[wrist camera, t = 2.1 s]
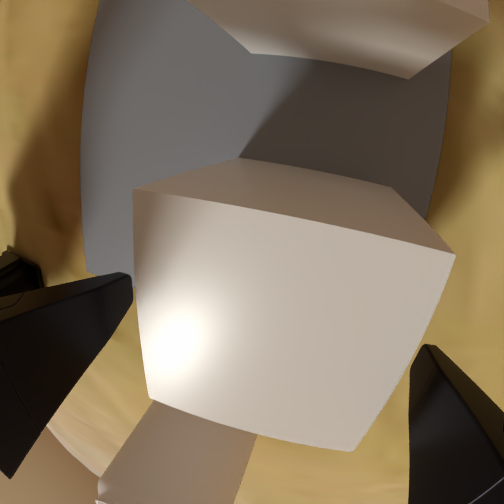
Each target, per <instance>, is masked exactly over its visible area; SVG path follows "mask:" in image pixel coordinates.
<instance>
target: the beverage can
mask: <svg viewBox="0 0 504 504" xmlns="http://www.w3.org/2000/svg"><path fill="white" fill-rule="evenodd" d="M257 435H258V434H255V433H251V432H248V431H244V430H240V429H237V428H233V427H230V426H227V425H223V424H220V423H217V422H214V421H211V420H208V419H205V418H202V417H199V416H196V415H193V414H190V413H187V412H185V411H182V410H179V409H176V408H174V407H171V406H169V405H166V404H163V403H161V402H159V401H156V400H154V401H153V402H152V404H151V405H150V407H149V408H148V410H147V411H146V413H145V414H144V415H143V417H142V418H141V420H140V421H139V423H138V424H137V426H136V427H135V429H134V430H133V432H132V433H131V434H130V436H129V437H128V439H127V440H126V442H125V443H124V445H123V446H122V448H121V449H120V450H119V452H118V453H117V455H116V456H115V458H114V459H113V461H112V462H111V464H110V465H109V467H108V468H107V469H106V471H105V472H104V474H103V475H102V477H101V478H100V480H99V482H98V493H99V498H97V499H96V500H95V502H96V504H233V503H234V500H235V498H236V495H237V492H238V489H239V487H240V484H241V481H242V478H243V475H244V473H245V470H246V467H247V464H248V461H249V458H250V455H251V452H252V450H253V447H254V444H255V441H256V438H257Z"/></svg>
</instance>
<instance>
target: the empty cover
mask: <svg viewBox="0 0 504 504" xmlns="http://www.w3.org/2000/svg"><path fill="white" fill-rule="evenodd" d="M133 250H134V271H135V287H136V300H137V311H138V322H139V331H140V340H141V348H142V355H143V363H144V369H145V376H146V382H147V388H148V394H149V398H151V399H154V400H156V401H159V402H161V403H163V404H166V405H169V406H171V407H174V408H176V409H179V410H182V411H185V412H187V413H190V414H193V415H196V416H199V417H202V418H205V419H208V420H211V421H214V422H217V423H220V424H223V425H227V426H230V427H233V428H237V429H240V430H244V431H248V432H251V433H255V434H259V435H263V436H267V437H271V438H275V439H280V440H284V441H289V442H294V443H299V444H304V445H309V446H315V447H321V448H327V449H333V450H340V451H348V452H353V450H354V449H355V448H356V446H357V445H358V444H359V442H360V441H361V439H362V438H363V437H364V435H365V434H366V432H367V431H368V430H369V428H370V427H371V425H372V424H373V422H374V421H375V419H376V418H377V416H378V415H379V413H380V412H381V410H382V408H383V407H384V405H385V404H386V402H387V400H388V399H389V397H390V396H391V394H392V392H393V391H394V389H395V387H396V385H397V384H398V382H399V380H400V379H401V377H402V375H403V373H404V371H405V370H406V368H407V366H408V364H409V362H410V360H411V358H412V357H413V355H414V353H415V351H416V349H417V347H418V345H419V343H420V341H421V339H422V337H423V335H424V333H425V331H426V328H427V326H428V324H429V322H430V320H431V318H432V315H433V313H434V311H435V309H436V306H437V304H438V301H439V299H440V297H441V294H442V292H443V289H444V287H445V284H446V282H447V279H448V276H449V274H450V271H451V268H452V266H453V263H454V260H455V257H456V254H455V253H454V252H453V251H452V249H451V248H450V247H449V246H448V245H447V244H446V243H445V242H444V240H443V239H442V238H441V237H440V236H439V235H438V234H437V233H436V232H435V231H434V230H433V228H432V227H431V226H430V225H429V224H428V223H427V222H426V221H425V220H424V219H423V218H422V217H421V216H420V215H419V214H418V213H417V212H416V211H415V210H414V209H413V208H412V207H411V206H410V205H409V204H408V203H407V202H406V201H405V200H404V199H403V198H402V197H401V196H400V195H399V194H398V193H397V192H396V191H395V190H394V189H392V188H391V187H388V186H384V185H380V184H376V183H372V182H367V181H363V180H359V179H354V178H350V177H345V176H341V175H336V174H331V173H326V172H321V171H316V170H311V169H306V168H300V167H295V166H289V165H283V164H277V163H271V162H265V161H258V160H252V159H245V158H234V159H230V160H227V161H223V162H219V163H215V164H212V165H208V166H205V167H201V168H198V169H194V170H191V171H187V172H184V173H181V174H177V175H174V176H171V177H168V178H164V179H161V180H158V181H155V182H152V183H149V184H146V185H143V186H140V187H137V188H134V189H133Z"/></svg>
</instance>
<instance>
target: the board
mask: <svg viewBox="0 0 504 504" xmlns="http://www.w3.org/2000/svg"><path fill="white" fill-rule="evenodd" d="M451 56H452V49H451V50H449V51H448V52H446V53H445V54H444V55H442V56H441V57H439V58H438V59H436V60H435V61H434V62H432V63H431V64H429V65H428V66H427V67H425V68H424V69H422V70H421V71H420V72H418V73H417V74H415V75H414V76H413V77H411V78H410V79H409V80H408V79H405V78H401V77H397V76H394V75H390V74H386V73H382V72H378V71H374V70H369V69H365V68H360V67H355V66H350V65H345V64H340V63H334V62H328V61H321V60H315V59H307V58H299V57H290V56H280V55H268V54H252V53H250V52H249V51H248V50H247V49H246V48H245V47H244V46H242V45H241V44H240V43H239V42H238V41H237V40H235V39H234V38H233V37H232V36H231V35H230V34H228V33H227V32H226V31H225V30H224V29H222V28H221V27H220V26H219V25H217V24H216V23H215V22H214V21H212V20H211V19H210V18H209V17H207V16H206V15H205V14H204V13H202V12H201V11H200V10H198V9H197V8H196V7H194V6H193V5H192V4H190V3H189V2H188V1H186V0H100V3H99V7H98V11H97V16H96V20H95V25H94V30H93V35H92V40H91V46H90V52H89V58H88V65H87V72H86V80H85V88H84V98H83V110H82V124H81V148H80V189H81V213H82V228H83V240H84V250H85V260H86V268H87V272H89V273H92V274H95V275H98V276H101V275H106V274H111V273H115V272H123V273H126V274H129V275H130V276H131V278H132V286H133V287H134V288H136V287H135V271H134V250H133V189H134V188H137V187H140V186H143V185H146V184H149V183H152V182H155V181H158V180H161V179H164V178H168V177H171V176H174V175H177V174H181V173H184V172H187V171H191V170H194V169H198V168H201V167H205V166H208V165H212V164H215V163H219V162H223V161H227V160H230V159H234V158H245V159H252V160H258V161H265V162H271V163H277V164H283V165H289V166H295V167H300V168H306V169H311V170H316V171H321V172H326V173H331V174H336V175H341V176H345V177H350V178H354V179H359V180H363V181H367V182H372V183H376V184H380V185H384V186H388V187H391V188H392V189H394V190H395V191H396V192H397V193H398V194H399V195H400V196H401V197H402V198H403V199H404V200H405V201H406V202H407V203H408V204H409V205H410V206H411V207H412V208H413V209H414V210H415V211H416V212H417V213H418V214H419V215H420V216H421V217H422V218H423V219H424V220H426V216H427V212H428V208H429V205H430V200H431V196H432V192H433V188H434V183H435V179H436V174H437V169H438V164H439V159H440V154H441V148H442V142H443V136H444V129H445V123H446V115H447V107H448V98H449V87H450V74H451Z"/></svg>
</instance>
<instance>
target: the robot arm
mask: <svg viewBox="0 0 504 504" xmlns="http://www.w3.org/2000/svg"><path fill="white" fill-rule="evenodd" d="M132 302H133V286H132V278H131V276H130V275H129V274H126V273H123V272H115V273H111V274H106V275H101V276H97V277H92V278H87V279H83V280H78V281H74V282H69V283H64V284H60V285H55V286H51V287H46V288H43V284H42V279H41V274H40V269H39V267H38V265H37V264H35V263H33V262H30V261H28V260H26V259H24V258H21V257H19V256H17V255H15V254H13V253H10V252H8V251H4V252H3V253H2V255H1V256H0V471H1V472H2V473H4V475H6V476H7V477H8V478H9V479H11V478H12V477H13V475H14V474H15V472H16V471H17V469H18V467H19V466H20V464H21V463H22V461H23V460H24V458H25V456H26V454H27V453H28V452H29V450H30V449H31V447H32V446H33V444H34V443H35V441H36V440H37V438H38V437H39V435H40V434H41V432H42V431H43V429H44V427H45V426H46V425H47V423H48V422H49V421H50V419H51V418H52V416H53V415H54V413H55V412H56V411H57V409H58V408H59V406H60V405H61V404H62V402H63V401H64V399H65V398H66V397H67V395H68V394H69V392H70V391H71V390H72V388H73V387H74V386H75V384H76V383H77V382H78V380H79V379H80V377H81V376H82V375H83V373H84V372H85V371H86V369H87V368H88V367H89V365H90V364H91V363H92V361H93V360H94V359H95V358H96V356H97V355H98V354H99V352H100V351H101V350H102V348H103V347H104V346H105V345H106V343H107V342H108V340H109V339H110V338H111V336H112V335H113V333H114V332H115V330H116V328H117V327H118V325H119V324H120V322H121V320H122V319H123V317H124V316H125V314H126V312H127V311H128V309H129V308H130V306H131V304H132ZM408 416H409V451H410V469H409V499H408V504H504V412H503V411H502V410H501V409H500V408H499V407H498V406H497V405H496V404H495V403H494V402H493V401H492V400H491V399H490V398H489V397H488V396H487V395H486V394H485V393H484V392H483V391H482V390H481V389H480V388H479V387H478V386H477V385H476V384H475V383H474V382H473V381H472V380H471V379H470V378H469V377H468V376H467V375H466V374H465V373H464V372H463V371H462V370H461V369H460V368H459V367H458V366H457V365H456V364H455V363H454V362H453V361H452V360H451V359H450V358H449V357H448V356H447V355H446V354H444V353H443V352H442V351H441V350H440V349H439V348H438V347H437V346H435V345H430V344H424V345H422V347H421V348H420V350H419V352H418V354H417V356H416V358H415V360H414V361H413V363H412V365H411V368H410V389H409V414H408Z"/></svg>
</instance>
